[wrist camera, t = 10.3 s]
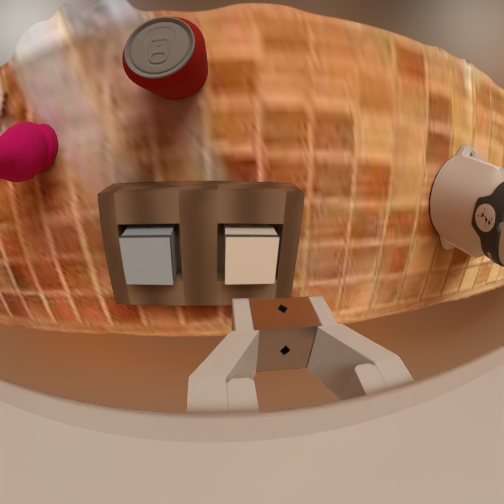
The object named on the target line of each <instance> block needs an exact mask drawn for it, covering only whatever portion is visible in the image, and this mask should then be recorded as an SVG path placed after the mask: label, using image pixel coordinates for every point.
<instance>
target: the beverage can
mask: <svg viewBox="0 0 504 504" xmlns="http://www.w3.org/2000/svg"><path fill="white" fill-rule="evenodd" d="M123 67H124V70H125V72H126V74H127V76H128V77H129V78H130V79H131V80H132V81H133V82H134V83H136V84H137V85H139V86H141V87H143V88H145V89H147V90H149V91H150V92H152V93H154V94H157V95H159V96H161V97H163V98H166V99H171V100H178V99H184V98H187V97H189V96H191V95H193V94H194V93H196V92H197V91H198V90H199V89H200V88H201V87H202V86H203V84H204V82H205V80H206V78H207V74H208V63H207V54H206V47H205V41H204V37H203V35H202V33H201V31H200V30H199V29H198V27H197V26H195V25H194V24H193V23H192V22H190V21H188V20H186V19H183V18H179V17H158V18H154V19H151V20H148V21H146V22H145V23H143V24H141V25H140V26H139V27H137V28H136V29H135V30H134V31H133V33H132V34H131V35H130V37H129V38H128V40H127V43H126V45H125V48H124V51H123Z"/></svg>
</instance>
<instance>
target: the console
mask: <svg viewBox="0 0 504 504" xmlns="http://www.w3.org/2000/svg"><path fill="white" fill-rule="evenodd" d="M304 195H305V193H304V192H302V191H301V190H300V189H299V188H297V187H296V186H295V185H294V184H292V183H272V182H244V181H166V182H139V183H120V184H112V185H110V186H109V187H107V188H106V189H104V190H103V191H101V192H100V193H98V204H99V213H100V221H101V228H102V235H103V241H104V248H105V253H106V259H107V264H108V270H109V275H110V279H111V284H112V289H113V293H114V297H115V301H116V304H129V305H168V306H224V305H232V298H291V292H292V286H293V279H294V272H295V265H296V258H297V251H298V244H299V236H300V229H301V221H302V212H303V204H304ZM224 223H245V224H272V226H273V227H274V229H275V231H276V233H277V235H279V246H278V256H277V265H276V274H275V283H274V284H224V265H223V252H224ZM130 224H176V237H177V254H178V266H177V270H176V275H175V279H174V280H175V282H174V284H173V285H144V284H126V279H125V274H124V268H123V262H122V256H121V249H120V242H119V237H120V236H121V235H122V234H123V233H124V231H125V230H126V229H127V228H128V226H129V225H130Z"/></svg>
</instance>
